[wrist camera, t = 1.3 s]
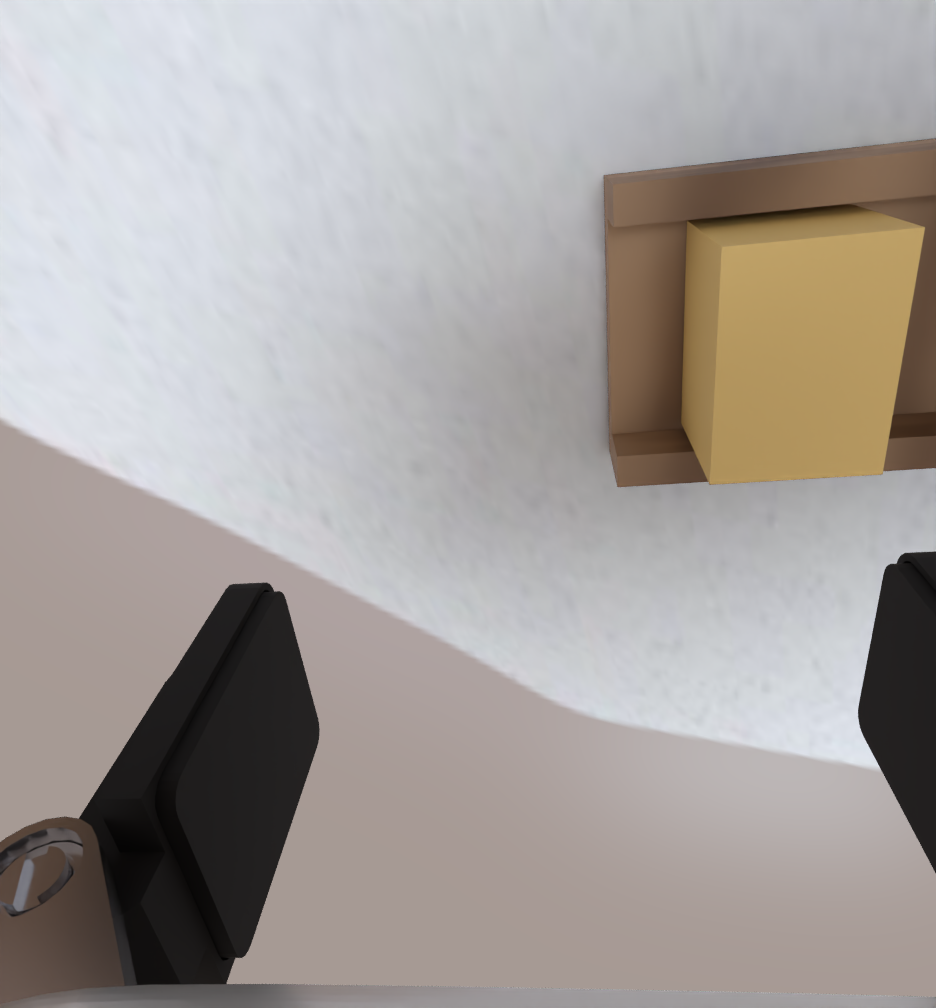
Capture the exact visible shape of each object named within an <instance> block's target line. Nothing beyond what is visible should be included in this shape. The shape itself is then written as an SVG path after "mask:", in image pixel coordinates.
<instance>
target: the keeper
mask: <svg viewBox="0 0 936 1008" xmlns="http://www.w3.org/2000/svg"><path fill="white" fill-rule="evenodd" d="M924 231H925V227H923V226H920V225H916V224H913V223H910V222H907V221H904V220H900V219H897V218H894V217H891V216H888V215H884V214H881V213H878V212H875V211H872V210H869V209H865V208H862V207H859V206H856V205H853V204H845V205H835V206H826V207H816V208H806V209H796V210H786V211H777V212H767V213H757V214H747V215H737V216H728V217H718V218H708V219H698V220H688V221H687V239H686V273H685V308H684V342H683V377H682V412H681V424H682V426H683V428H684V430H685V432H686V434H687V437H688V439H689V441H690V443H691V445H692V447H693V449H694V452H695V454H696V456H697V458H698V460H699V462H700V465H701V467H702V469H703V471H704V473H705V475H706V478H707V480H708V482H709V484H710V485H713V484H729V483H746V482H763V481H780V480H797V479H813V478H830V477H847V476H864V475H880V474H883V468H884V463H885V457H886V451H887V445H888V439H889V434H890V428H891V422H892V416H893V410H894V405H895V399H896V393H897V387H898V382H899V376H900V370H901V364H902V358H903V353H904V347H905V341H906V335H907V329H908V324H909V318H910V312H911V306H912V300H913V295H914V289H915V283H916V277H917V271H918V266H919V260H920V254H921V248H922V242H923V237H924Z"/></svg>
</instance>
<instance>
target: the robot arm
mask: <svg viewBox="0 0 936 1008" xmlns="http://www.w3.org/2000/svg"><path fill="white" fill-rule="evenodd" d="M858 718H859V724H860V728H861V731H862V734H863V736H864V738H865V740H866V742H867V744H868V745H869V747H870V749H871V751H872V753H873V755H874V757H875V759H876V761H877V763H878V764H879V766H880V768H881V770H882V772H883V774H884V776H885V778H886V780H887V781H888V783H889V785H890V787H891V789H892V791H893V793H894V794H895V797H896V799H897V800H898V802H899V804H900V806H901V808H902V810H903V812H904V814H905V816H906V817H907V819H908V821H909V823H910V825H911V827H912V829H913V831H914V833H915V835H916V837H917V838H918V840H919V842H920V844H921V846H922V848H923V850H924V852H925V854H926V856H927V857H928V859H929V861H930V863H931V865H932V867H933V869H934V871H935V873H936V552H916V553H904V554H903V555H901V556H900V558H899V559H898V561H897V564H890V565H888V566H887V567H886V569H885V572H884V575H883V581H882V586H881V591H880V596H879V602H878V607H877V612H876V618H875V623H874V628H873V633H872V639H871V644H870V649H869V654H868V660H867V665H866V670H865V676H864V681H863V686H862V691H861V697H860V702H859V708H858ZM318 740H319V722H318V717H317V713H316V710H315V706H314V703H313V699H312V695H311V691H310V688H309V684H308V680H307V676H306V673H305V669H304V665H303V661H302V658H301V654H300V650H299V647H298V643H297V639H296V636H295V632H294V628H293V624H292V621H291V617H290V613H289V610H288V606H287V603H286V599H285V596H284V594H283V593H282V592H280V591H278V592H274V590H273V588H272V587H271V585H270V584H268V583H248V584H232V585H229V587H228V588H227V589H226V590H225V592H224V593H223V595H222V596H221V598H220V600H219V601H218V603H217V604H216V606H215V608H214V609H213V611H212V612H211V614H210V615H209V617H208V619H207V620H206V622H205V624H204V625H203V627H202V628H201V630H200V631H199V633H198V634H197V636H196V638H195V639H194V641H193V642H192V644H191V646H190V647H189V649H188V650H187V652H186V653H185V655H184V657H183V658H182V660H181V661H180V663H179V665H178V666H177V668H176V669H175V671H174V672H173V674H172V675H171V676H170V678H169V679H168V680H167V681H166V682H165V684H164V685H163V687H162V689H161V690H160V692H159V693H158V695H157V696H156V698H155V699H154V701H153V703H152V704H151V706H150V707H149V709H148V711H147V712H146V714H145V715H144V717H143V718H142V720H141V722H140V723H139V725H138V726H137V728H136V730H135V731H134V733H133V734H132V736H131V737H130V739H129V740H128V742H127V744H126V745H125V747H124V748H123V750H122V752H121V753H120V755H119V756H118V758H117V759H116V761H115V762H114V764H113V766H112V767H111V769H110V770H109V772H108V773H107V775H106V777H105V778H104V780H103V782H102V783H101V784H100V786H99V788H98V789H97V791H96V792H95V794H94V796H93V797H92V799H91V800H90V802H89V803H88V805H87V807H86V808H85V810H84V811H83V813H82V815H81V816H80V818H79V819H78V818H71V817H59V818H51V819H45V820H42V821H40V822H37V823H34V824H31V825H29V826H26V827H24V828H22V829H21V830H19V831H17V832H15V833H14V834H12V835H10V836H8V837H7V838H5V839H4V840H2V841H1V842H0V1008H936V997H916V996H914V997H913V996H876V995H835V994H834V995H833V994H794V993H756V992H710V991H709V992H708V991H662V990H661V991H660V990H613V989H612V990H611V989H560V988H507V987H505V988H504V987H446V986H445V987H444V986H440V987H439V986H375V985H304V984H299V985H298V984H226V982H227V980H228V977H229V974H230V971H231V968H232V965H233V963H234V960H235V958H242V957H244V956H245V955H246V953H247V952H248V950H249V947H250V945H251V942H252V939H253V937H254V934H255V931H256V927H257V925H258V922H259V918H260V916H261V913H262V910H263V906H264V904H265V901H266V898H267V895H268V892H269V889H270V885H271V883H272V880H273V877H274V874H275V871H276V868H277V865H278V861H279V859H280V856H281V853H282V850H283V847H284V844H285V841H286V838H287V835H288V832H289V829H290V826H291V823H292V820H293V817H294V814H295V811H296V808H297V805H298V802H299V799H300V796H301V793H302V790H303V787H304V784H305V781H306V778H307V775H308V772H309V769H310V766H311V763H312V760H313V757H314V754H315V751H316V748H317V745H318Z"/></svg>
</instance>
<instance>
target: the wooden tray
mask: <svg viewBox="0 0 936 1008" xmlns="http://www.w3.org/2000/svg"><path fill="white" fill-rule="evenodd" d="M845 204H853V205H856V206H859V207H862V208H865V209H869V210H872V211H875V212H878V213H881V214H884V215H888V216H891V217H894V218H897V219H900V220H904V221H907V222H910V223H913V224H916V225H920V226H923V227H925V231H924V237H923V242H922V248H921V254H920V260H919V266H918V271H917V277H916V283H915V289H914V295H913V300H912V306H911V312H910V318H909V324H908V329H907V335H906V341H905V347H904V353H903V358H902V364H901V370H900V376H899V382H898V387H897V393H896V399H895V405H894V410H893V416H892V422H891V428H890V434H889V439H888V445H887V451H886V457H885V463H884V468H883V471H893V470H909V469H926V468H936V139H927V140H918V141H909V142H900V143H891V144H882V145H873V146H864V147H855V148H846V149H837V150H828V151H819V152H810V153H801V154H792V155H783V156H774V157H765V158H756V159H747V160H737V161H728V162H719V163H710V164H701V165H692V166H683V167H674V168H665V169H656V170H647V171H638V172H629V173H620V174H611V175H604V206H605V255H606V304H607V353H608V402H609V450H610V455H611V459H612V464H613V469H614V473H615V478H616V482H617V487H627V486H643V485H660V484H677V483H693V482H708V480H707V478H706V475H705V473H704V471H703V469H702V467H701V465H700V462H699V460H698V458H697V456H696V454H695V452H694V449H693V447H692V445H691V443H690V441H689V439H688V437H687V434H686V432H685V430H684V428H683V426H682V424H681V412H682V377H683V342H684V308H685V273H686V239H687V221H688V220H698V219H708V218H718V217H728V216H737V215H747V214H757V213H767V212H777V211H786V210H796V209H806V208H816V207H826V206H835V205H845Z"/></svg>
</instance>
